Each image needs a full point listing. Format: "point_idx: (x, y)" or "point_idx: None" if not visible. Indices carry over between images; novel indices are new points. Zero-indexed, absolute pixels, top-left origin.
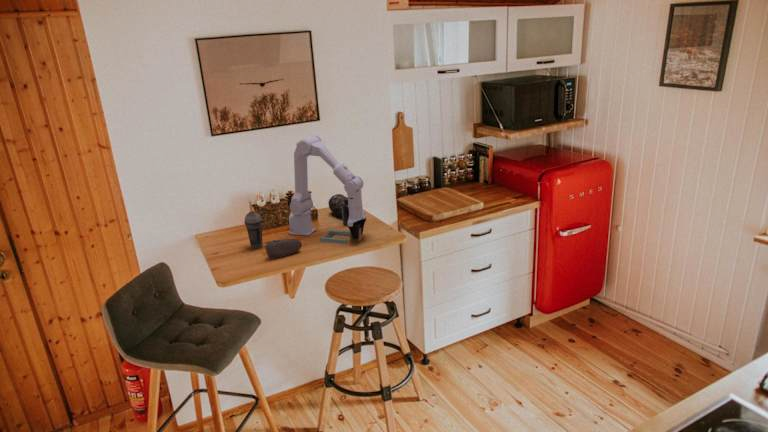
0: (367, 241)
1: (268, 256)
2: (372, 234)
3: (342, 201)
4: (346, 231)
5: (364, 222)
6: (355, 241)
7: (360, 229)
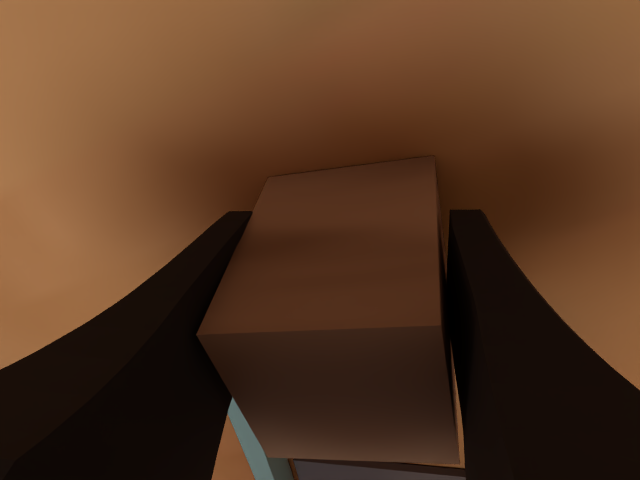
0: (383, 11)
1: None
2: (34, 77)
3: None
4: (228, 413)
5: (48, 382)
6: (441, 222)
7: (286, 310)
